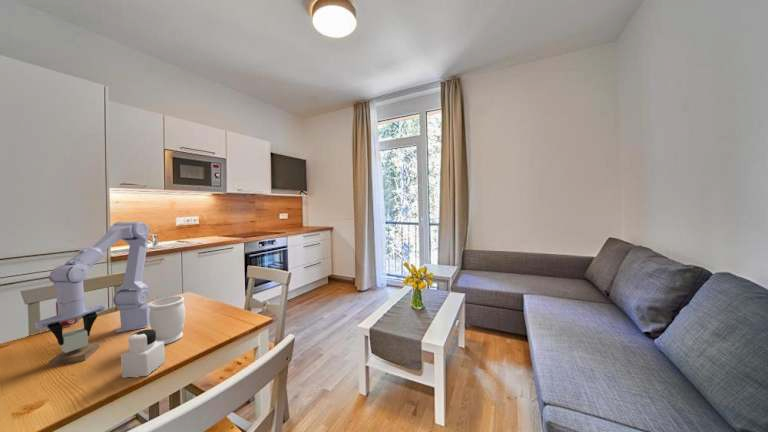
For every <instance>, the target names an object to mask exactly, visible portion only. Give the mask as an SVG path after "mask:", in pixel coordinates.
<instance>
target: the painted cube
mask: <svg viewBox="0 0 768 432" xmlns="http://www.w3.org/2000/svg"><path fill="white" fill-rule="evenodd" d="M62 336H63V341H64V344H63V345H59V347H60V350H62V351H64V352H65V353H67V352H70V351H73V350H76V349H79V348H81V347H84V346H87V345H88V344H89V336H88V333H87V330H85V329H84V327H80V328H75V329H73V330H70V331H65V332H62Z"/></svg>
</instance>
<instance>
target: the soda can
mask: <svg viewBox="0 0 768 432" xmlns="http://www.w3.org/2000/svg"><path fill="white" fill-rule="evenodd" d="M55 309H56V310H55V313H56V315H58V306H57V300H56V302H55ZM60 323H61V325H62V326H63V327H66V328H69V327H68V326H70V327H72V326H75V325H77V324H78V318H75V319H71V320H67V321H64V322H60Z"/></svg>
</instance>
